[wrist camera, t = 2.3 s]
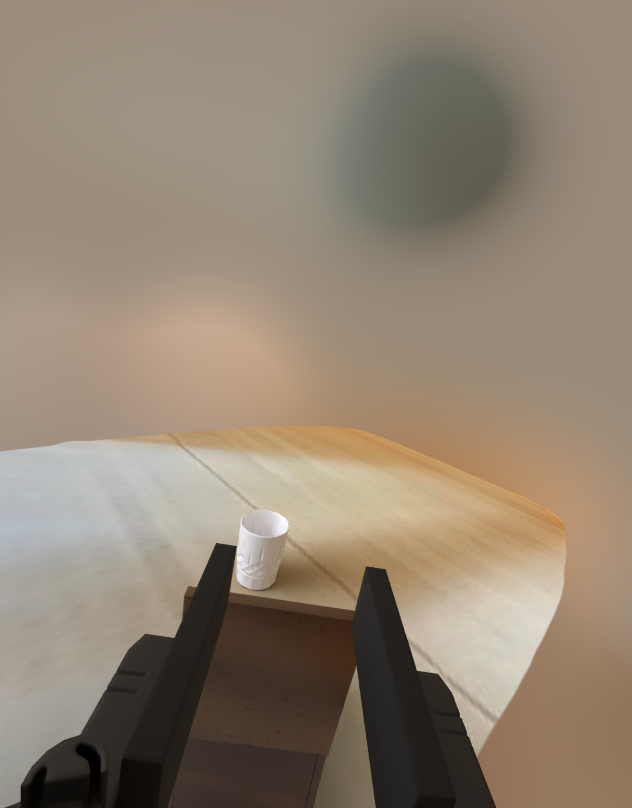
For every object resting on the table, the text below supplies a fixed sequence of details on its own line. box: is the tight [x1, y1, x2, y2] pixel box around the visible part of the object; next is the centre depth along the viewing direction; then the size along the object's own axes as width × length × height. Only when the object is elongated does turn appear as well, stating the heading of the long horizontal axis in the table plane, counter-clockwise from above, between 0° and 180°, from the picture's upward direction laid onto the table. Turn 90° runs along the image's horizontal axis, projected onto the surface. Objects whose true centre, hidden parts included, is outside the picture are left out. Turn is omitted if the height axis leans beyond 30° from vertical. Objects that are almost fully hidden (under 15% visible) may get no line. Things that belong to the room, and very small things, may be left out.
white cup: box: [236, 510, 289, 590], centre depth 57 cm, size 8×8×10 cm
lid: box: [182, 586, 356, 755], centre depth 25 cm, size 14×12×1 cm
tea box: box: [167, 738, 326, 808], centre depth 35 cm, size 13×12×9 cm
